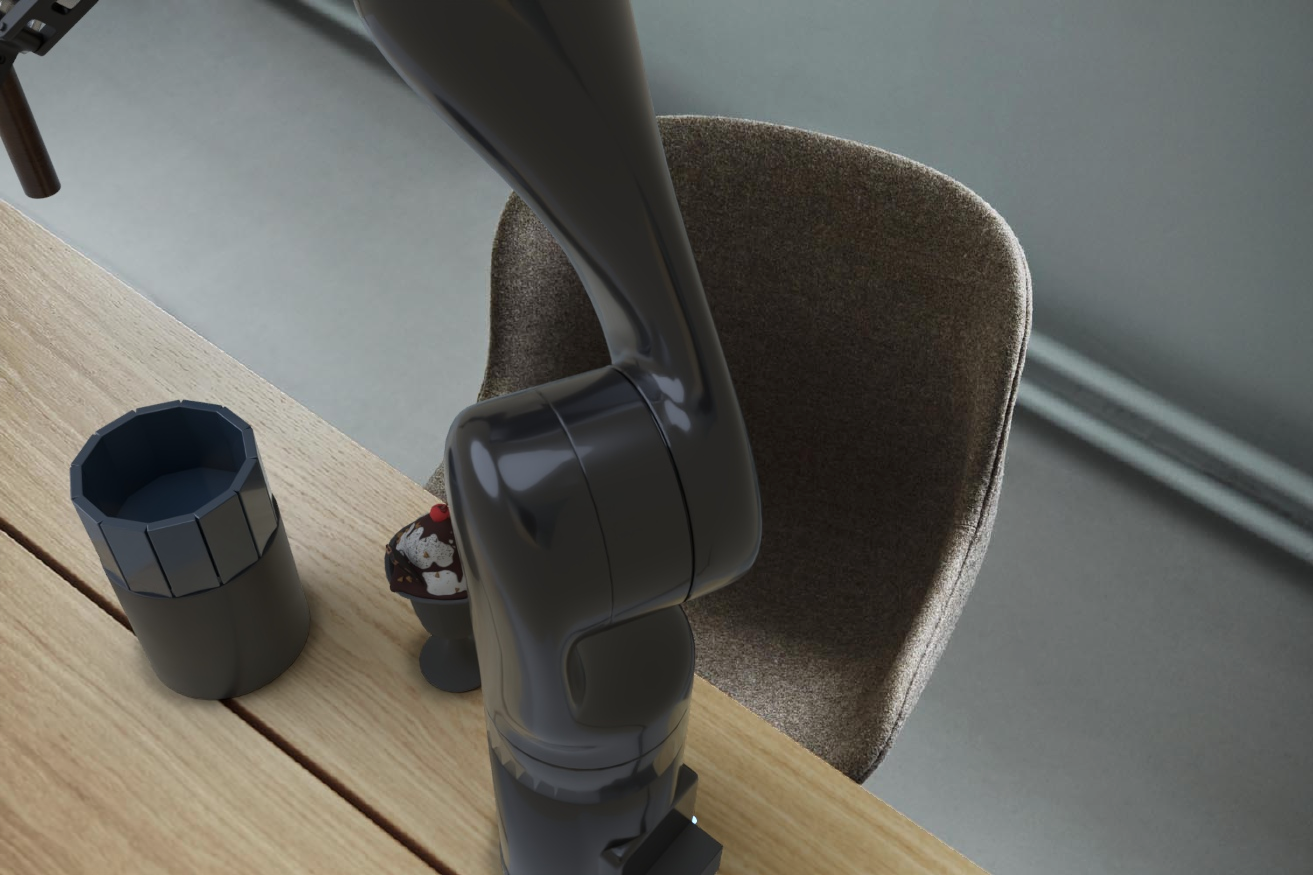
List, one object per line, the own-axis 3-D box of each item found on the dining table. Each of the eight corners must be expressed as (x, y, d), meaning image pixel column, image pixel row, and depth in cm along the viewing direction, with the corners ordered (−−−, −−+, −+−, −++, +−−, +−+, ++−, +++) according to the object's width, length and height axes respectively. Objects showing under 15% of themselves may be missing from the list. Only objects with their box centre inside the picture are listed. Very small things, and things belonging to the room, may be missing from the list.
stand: (342, 625, 72) (315, 522, 64) (211, 730, 66) (166, 630, 59) (246, 546, 76) (211, 441, 68) (116, 638, 70) (62, 534, 63)
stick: (68, 188, 74) (-2, 10, 66) (37, 203, 73) (-39, 24, 64) (48, 176, 75) (-24, -2, 67) (17, 190, 74) (-60, 12, 65)
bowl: (310, 523, 64) (292, 456, 61) (167, 625, 59) (137, 560, 55) (210, 444, 68) (187, 376, 64) (68, 534, 63) (33, 467, 59)
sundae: (523, 617, 73) (512, 456, 62) (503, 710, 68) (487, 553, 57) (420, 606, 73) (391, 443, 62) (393, 698, 68) (356, 539, 57)
